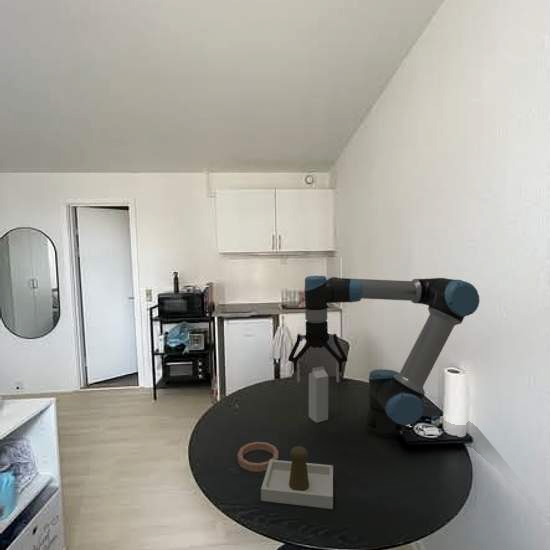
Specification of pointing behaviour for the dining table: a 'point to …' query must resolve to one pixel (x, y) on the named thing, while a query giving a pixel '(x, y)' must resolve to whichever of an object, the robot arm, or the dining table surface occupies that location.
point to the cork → (299, 469)
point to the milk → (318, 394)
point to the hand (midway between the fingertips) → (318, 380)
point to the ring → (256, 446)
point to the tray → (280, 492)
